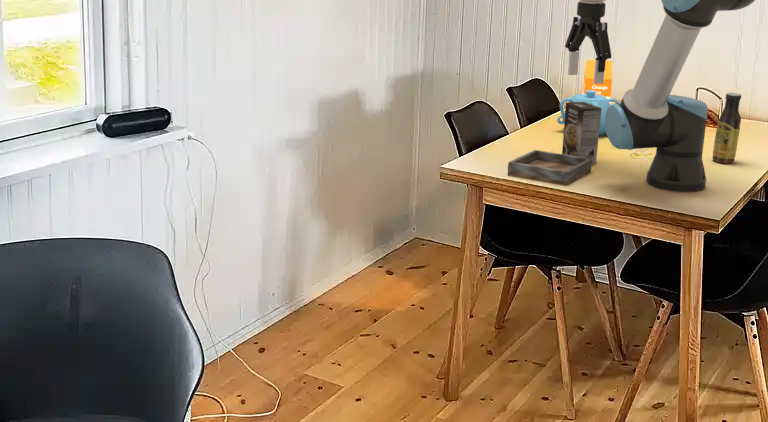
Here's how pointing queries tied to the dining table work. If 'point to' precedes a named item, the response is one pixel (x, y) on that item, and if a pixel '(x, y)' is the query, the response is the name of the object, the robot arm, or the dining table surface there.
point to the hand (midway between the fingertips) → (585, 79)
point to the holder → (550, 167)
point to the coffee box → (581, 130)
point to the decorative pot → (593, 100)
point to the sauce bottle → (728, 130)
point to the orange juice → (589, 78)
